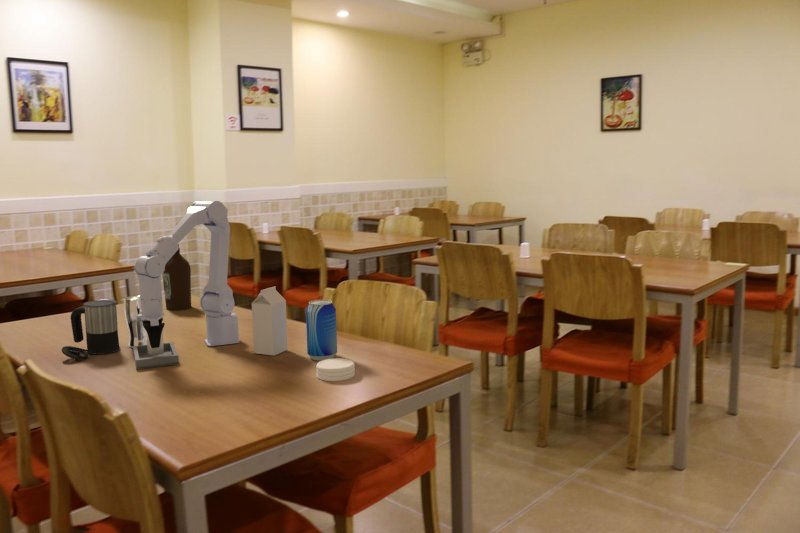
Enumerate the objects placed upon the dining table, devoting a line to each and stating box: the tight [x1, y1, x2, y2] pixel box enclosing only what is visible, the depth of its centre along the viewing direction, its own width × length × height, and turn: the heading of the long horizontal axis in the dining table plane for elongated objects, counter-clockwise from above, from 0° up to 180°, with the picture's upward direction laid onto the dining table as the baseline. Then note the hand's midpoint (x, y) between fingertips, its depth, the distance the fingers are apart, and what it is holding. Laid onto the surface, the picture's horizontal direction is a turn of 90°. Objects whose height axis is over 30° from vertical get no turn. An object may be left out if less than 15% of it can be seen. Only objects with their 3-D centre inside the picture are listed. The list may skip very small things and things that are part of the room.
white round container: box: [315, 357, 356, 382], centre depth 173 cm, size 10×10×4 cm
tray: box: [132, 341, 180, 370], centre depth 190 cm, size 11×16×3 cm
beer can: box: [305, 299, 338, 361], centre depth 189 cm, size 8×8×16 cm
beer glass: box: [123, 295, 147, 349], centre depth 205 cm, size 7×7×15 cm
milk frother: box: [61, 299, 121, 361], centre depth 196 cm, size 14×16×15 cm
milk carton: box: [251, 285, 289, 357], centre depth 195 cm, size 7×7×19 cm
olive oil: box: [161, 243, 192, 311], centre depth 260 cm, size 11×11×25 cm
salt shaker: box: [147, 329, 165, 355], centre depth 189 cm, size 4×4×8 cm
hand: (154, 345), depth 189 cm, fingers closed on salt shaker, 4 cm apart
